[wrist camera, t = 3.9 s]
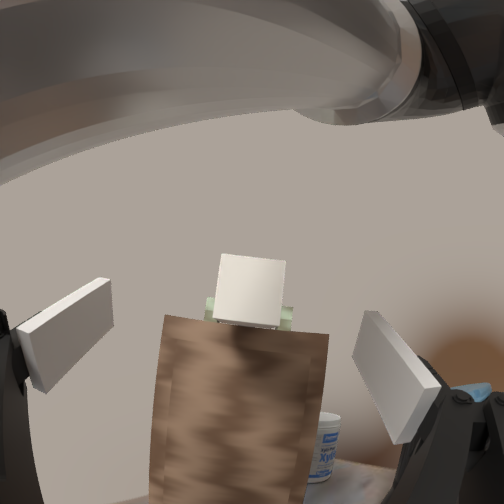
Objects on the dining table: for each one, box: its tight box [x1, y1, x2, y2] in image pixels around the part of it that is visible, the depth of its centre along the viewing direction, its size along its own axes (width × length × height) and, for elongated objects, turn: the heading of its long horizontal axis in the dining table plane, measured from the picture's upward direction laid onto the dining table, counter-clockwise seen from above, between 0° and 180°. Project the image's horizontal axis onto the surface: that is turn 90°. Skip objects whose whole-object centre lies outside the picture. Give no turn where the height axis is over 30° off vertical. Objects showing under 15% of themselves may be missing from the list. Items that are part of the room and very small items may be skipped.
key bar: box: [212, 254, 286, 329], centre depth 26 cm, size 4×18×4 cm, turn 1°
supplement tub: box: [307, 412, 341, 483], centre depth 48 cm, size 10×10×15 cm
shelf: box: [149, 297, 329, 504], centre depth 27 cm, size 15×14×33 cm
